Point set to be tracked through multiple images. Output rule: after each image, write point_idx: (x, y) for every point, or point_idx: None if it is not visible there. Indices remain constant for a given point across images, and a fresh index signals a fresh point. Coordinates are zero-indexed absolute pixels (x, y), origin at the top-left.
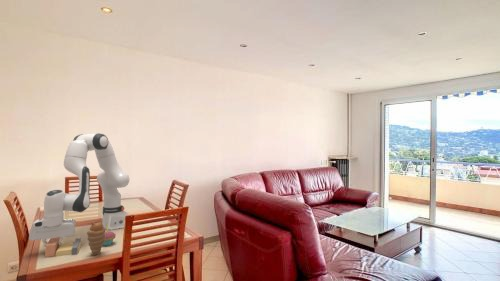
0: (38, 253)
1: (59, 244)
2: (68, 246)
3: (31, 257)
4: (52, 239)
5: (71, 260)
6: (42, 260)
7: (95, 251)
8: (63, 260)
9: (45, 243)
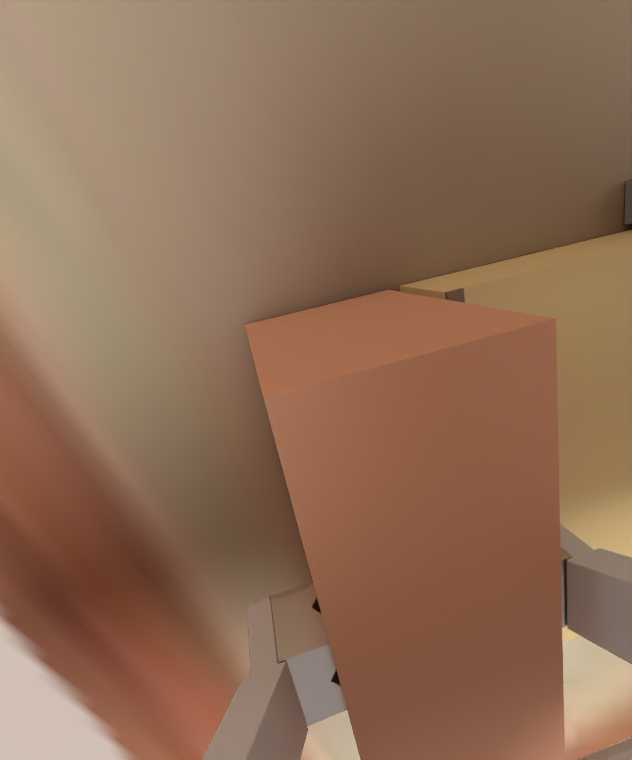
0: (137, 524)
1: None
2: (624, 490)
3: (123, 656)
4: (398, 575)
5: (626, 684)
6: (336, 714)
7: None
8: None
9: (294, 749)
